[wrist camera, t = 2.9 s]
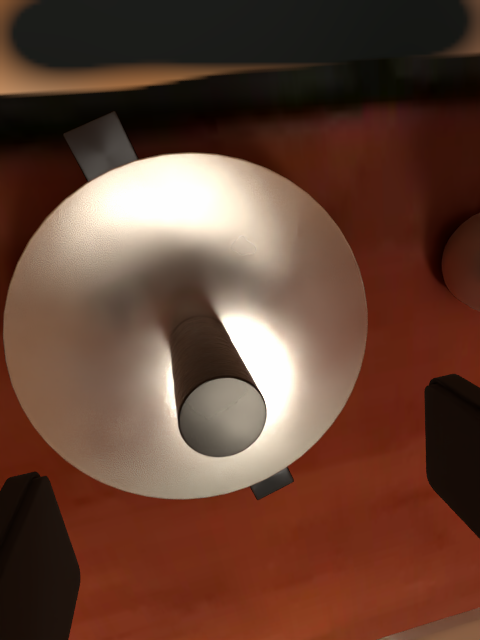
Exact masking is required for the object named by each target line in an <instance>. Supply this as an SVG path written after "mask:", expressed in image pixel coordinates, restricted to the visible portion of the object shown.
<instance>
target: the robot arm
mask: <svg viewBox="0 0 480 640" xmlns="http://www.w3.org/2000/svg"><path fill="white" fill-rule="evenodd" d="M425 431H426V473H427V478H428V481H429V484H430V485H431V487H432V488H433V490H434V491H435V492H436V493H437V494H438V495H439V496H440V497H441V498H442V499H443V500H444V501H445V502H446V503H447V504H448V505H449V507H450V508H451V509H452V510H453V511H454V512H455V513H456V514H457V515H458V516H459V517H460V518H461V519H462V520H463V521H464V522H465V523H466V525H467V526H468V527H469V528H470V529H471V530H472V531H473V532H474V533H475V534H476V535H477V536H478V537H479V538H480V388H479V387H477V386H476V385H474V384H472V383H471V382H469V381H467V380H465V379H464V378H462V377H460V376H459V375H456V374H450V375H446V376H442V377H438V378H433V379H432V380H431V381H430V383H429V386H427V387H426V388H425ZM79 586H80V569H79V565H78V562H77V559H76V556H75V553H74V550H73V548H72V545H71V542H70V539H69V536H68V533H67V530H66V527H65V524H64V521H63V518H62V515H61V513H60V510H59V507H58V504H57V501H56V498H55V495H54V492H53V489H52V486H51V483H50V481H49V479H48V477H47V476H43V477H40V475H39V474H38V473H37V472H31V473H27V474H23V475H19V476H14V477H10V478H8V479H7V480H6V482H5V484H4V485H3V487H2V489H1V491H0V640H68V638H69V634H70V629H71V624H72V619H73V615H74V610H75V605H76V600H77V596H78V591H79ZM377 640H480V608H477V609H474V610H471V611H467V612H464V613H461V614H458V615H454V616H451V617H448V618H445V619H441V620H438V621H435V622H432V623H428V624H425V625H422V626H419V627H416V628H412V629H409V630H406V631H403V632H400V633H397V634H393V635H390V636H387V637H384V638H381V639H377Z"/></svg>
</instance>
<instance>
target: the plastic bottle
mask: <svg viewBox="0 0 480 640" xmlns="http://www.w3.org/2000/svg"><path fill="white" fill-rule="evenodd" d="M442 273H443V277H444V281H445V284H446V286H447V288H448V290H449V291H450V292H451V293H452V295H453V296H454V297H456V298H457V299H459V300H460V301H461V302H463V303H465V304H466V305H468V306H469V307H471V308H473V309H475V310H478V311H480V213H478V214H476V215H474V216H472V217H470V218H469V219H468V220H466V221H465V222H464V223H462V224H461V225H460V226H459V227H458V228H457V229H456V231H455V232H454V233H453V234H452V236H451V237H450V238H449V240H448V242H447V244H446V246H445V248H444V252H443V255H442Z"/></svg>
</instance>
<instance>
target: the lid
mask: <svg viewBox="0 0 480 640" xmlns="http://www.w3.org/2000/svg"><path fill="white" fill-rule="evenodd" d="M366 338H367V304H366V296H365V288H364V285H363V281H362V277H361V274H360V270H359V267H358V264H357V262H356V259H355V257H354V255H353V252H352V250H351V247H350V246H349V244H348V242H347V240H346V239H345V237H344V235H343V234H342V232H341V230H340V229H339V227H338V226H337V225H336V223H335V222H334V221H333V219H332V218H331V217H330V216H329V214H328V213H327V212H326V211H325V209H324V208H322V207H321V206H320V205H319V204H318V203H317V202H316V201H315V200H314V199H313V198H312V197H311V196H310V195H309V194H308V193H307V192H305V191H304V190H302V189H301V188H300V187H298V186H297V185H295V184H294V183H293V182H291V181H290V180H289V179H287V178H285V177H283V176H281V175H279V174H277V173H275V172H274V171H272V170H270V169H268V168H266V167H263V166H260V165H258V164H255V163H252V162H249V161H246V160H244V159H240V158H235V157H231V156H226V155H221V154H215V153H200V152H181V153H167V154H160V155H155V156H151V157H146V158H142V159H137V160H134V161H131V162H129V163H126V164H123V165H121V166H118V167H115V168H113V169H110V170H108V171H107V172H105V173H103V174H101V175H99V176H97V177H95V178H94V179H92V180H90V181H88V182H86V183H85V184H84V185H82V186H81V187H80V188H78V189H77V190H76V191H74V192H73V193H72V194H70V195H69V196H68V197H66V198H65V199H64V200H63V201H62V202H61V203H60V204H59V205H58V206H57V207H56V208H55V209H54V210H53V211H52V212H51V213H50V214H49V215H48V216H47V217H46V218H45V219H44V221H43V222H42V223H41V225H40V226H39V227H38V229H37V230H36V231H35V233H34V234H33V236H32V237H31V238H30V240H29V242H28V243H27V245H26V247H25V249H24V251H23V253H22V255H21V257H20V258H19V260H18V262H17V265H16V268H15V270H14V273H13V276H12V279H11V282H10V285H9V288H8V293H7V298H6V303H5V309H4V321H3V343H4V352H5V360H6V365H7V368H8V372H9V376H10V380H11V384H12V386H13V389H14V391H15V393H16V396H17V398H18V400H19V403H20V405H21V407H22V409H23V410H24V412H25V414H26V415H27V417H28V418H29V420H30V422H31V423H32V425H33V427H34V428H35V429H36V430H37V431H38V433H39V434H40V435H41V436H42V438H43V439H44V440H45V441H46V442H47V444H48V445H49V446H50V447H52V448H53V449H54V450H55V451H56V452H57V453H58V454H59V455H60V456H61V457H62V458H63V459H64V460H66V461H67V462H69V463H70V464H72V465H73V466H74V467H76V468H77V469H79V470H80V471H81V472H83V473H85V474H87V475H88V476H90V477H92V478H94V479H96V480H98V481H100V482H102V483H104V484H106V485H109V486H112V487H114V488H117V489H119V490H122V491H125V492H129V493H133V494H137V495H141V496H146V497H154V498H161V499H197V498H207V497H213V496H218V495H222V494H227V493H231V492H234V491H237V490H240V489H243V488H246V487H249V486H252V485H254V484H256V483H258V482H261V481H263V480H265V479H267V478H269V477H271V476H273V475H274V474H276V473H278V472H279V471H281V470H283V469H285V468H286V467H288V466H289V465H290V464H292V463H293V462H294V461H296V460H297V459H298V458H300V457H301V456H302V455H303V454H305V453H306V452H307V451H308V450H309V449H310V448H311V447H312V446H313V445H314V444H315V443H316V442H318V440H319V439H320V438H321V437H322V436H323V435H324V433H325V432H326V431H327V430H328V429H329V428H330V427H331V425H332V424H333V422H334V421H335V419H336V418H337V416H338V415H339V414H340V412H341V411H342V409H343V407H344V405H345V404H346V402H347V400H348V398H349V396H350V394H351V392H352V390H353V388H354V385H355V382H356V380H357V377H358V375H359V372H360V368H361V364H362V360H363V356H364V352H365V346H366Z"/></svg>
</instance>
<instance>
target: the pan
mask: <svg viewBox="0 0 480 640" xmlns="http://www.w3.org/2000/svg"><path fill="white" fill-rule="evenodd" d="M63 136H64V138H65V140H66V142H67V144H68V146H69V148H70V150H71V151H72V153H73V155H74V157H75V159H76V161H77V163H78V165H79V166H80V168H81V170H82V172H83V174H84V176H85V178H86V180H87V181H90V180H92V179H94V178H95V177H97V176H99V175H101V174H103V173H105V172H107V171H108V170H110V169H113V168H115V167H118V166H121V165H123V164H126V163H129V162H131V161H134V160H137V159H139V158H138V156H137V154H136V152H135V150H134V148H133V146H132V144H131V142H130V140H129V138H128V136H127V134H126V131H125V129H124V127H123V125H122V123H121V121H120V119H119V117H118V115H117V113H116V111H113V112H111V113H108V114H106V115H104V116H102V117H99V118H97V119H95V120H93V121H90V122H88V123H86V124H84V125H81V126H79V127H77V128H75V129H72V130H70V131H68V132H66V133H64V134H63ZM292 482H294V479H293V477H292V475H291V473H290V471H289V469H288V467H286V468H285V469H283V470H281V471H279V472H278V473H276V474H274V475H273V476H271V477H269V478H267V479H265V480H263V481H261V482H258V483H256V484H254V485H252V486H250V488H251V490H252V492H253V493H254V495H255V497H256V499H257V500H259V499H261V498H263V497H265V496H267V495H269V494H271V493H273V492H275V491H277V490H279V489H281V488H283V487H284V486H286V485H288V484H290V483H292Z"/></svg>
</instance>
